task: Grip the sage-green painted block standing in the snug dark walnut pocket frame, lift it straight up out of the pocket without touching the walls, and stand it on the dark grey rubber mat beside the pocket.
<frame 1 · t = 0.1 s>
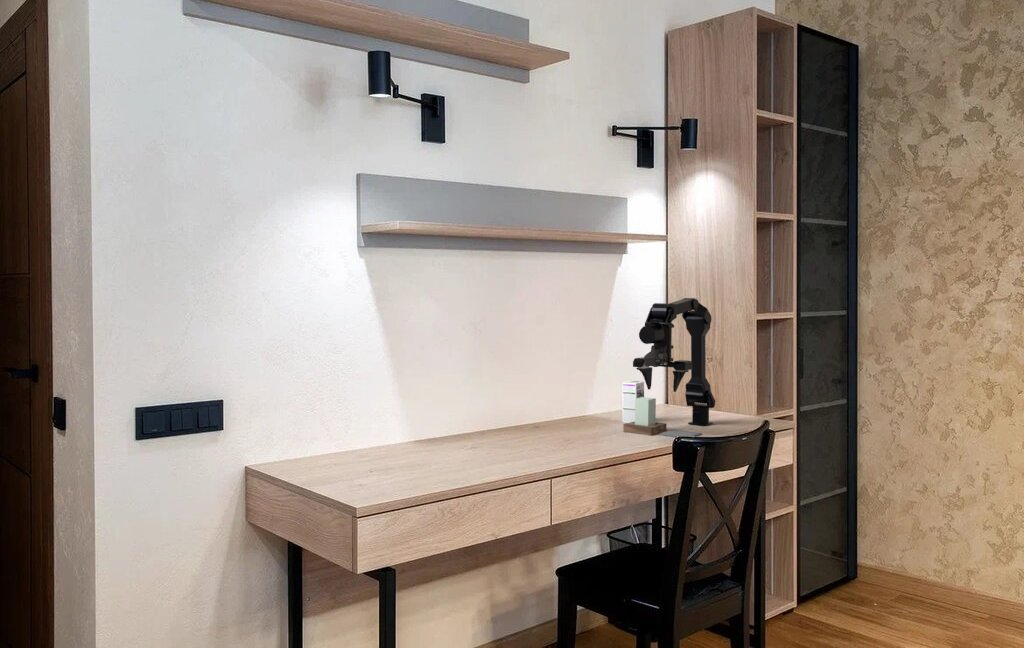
hand: (661, 390, 274), 15 cm above the table, fingers open, 9 cm apart
mat: (680, 434, 276), on the table
sage block: (645, 415, 281), in the pocket block
syrup box: (633, 423, 299), on the table
pocket block: (644, 431, 282), on the table
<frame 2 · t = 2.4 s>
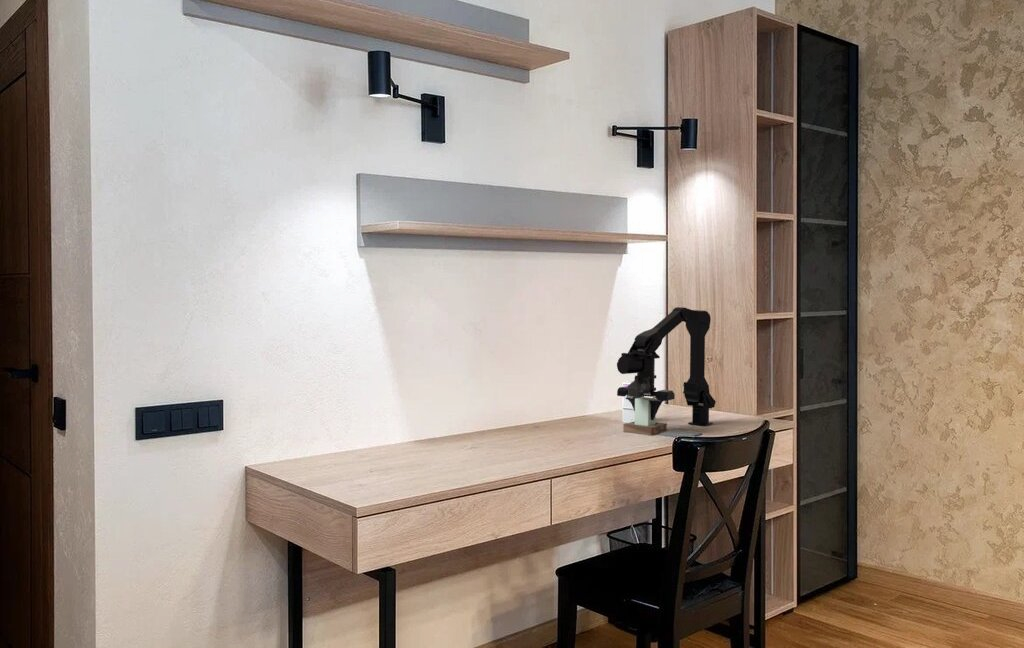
hand: (645, 419, 282), 4 cm above the table, fingers closed on sage block, 5 cm apart
sage block: (645, 414, 281), in the pocket block, touching gripper
everything else where it was.
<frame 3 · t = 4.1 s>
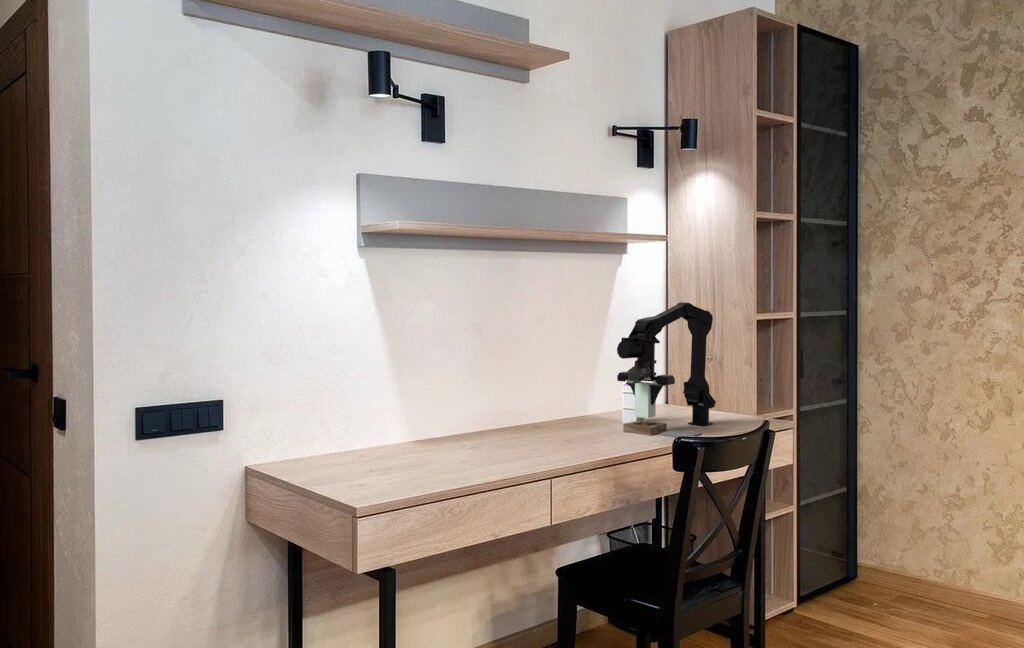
hand: (645, 404, 281), 9 cm above the table, fingers closed on sage block, 5 cm apart
sage block: (645, 399, 281), point 10 cm above the table, touching gripper
everything else where it was.
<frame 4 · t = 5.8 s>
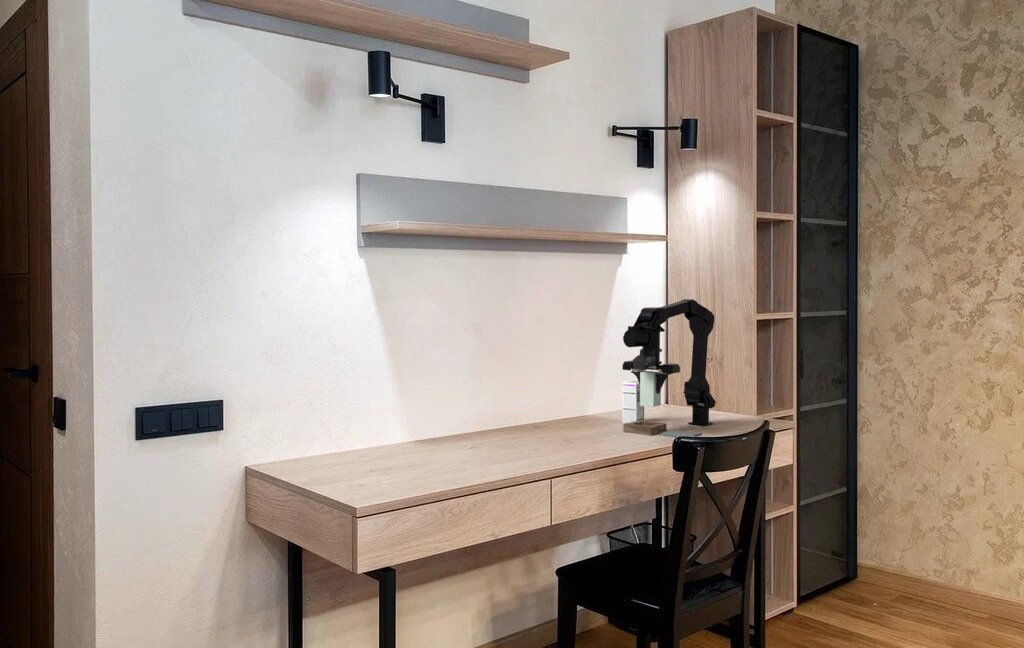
hand: (650, 393, 280), 13 cm above the table, fingers closed on sage block, 5 cm apart
sage block: (650, 388, 280), point 14 cm above the table, touching gripper
everything else where it was.
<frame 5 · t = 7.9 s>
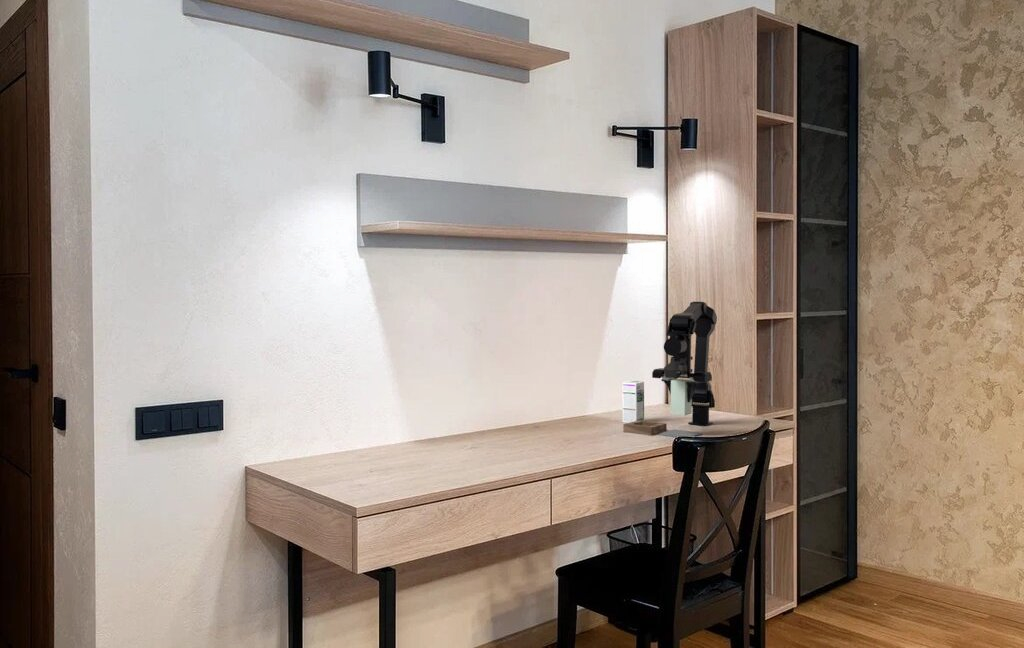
hand: (681, 401, 275), 11 cm above the table, fingers closed on sage block, 5 cm apart
sage block: (681, 397, 275), point 12 cm above the table, touching gripper
everything else where it was.
when the fingers open (5 cm above the table, at t = 9.4 s): sage block stays where it is, resting on mat.
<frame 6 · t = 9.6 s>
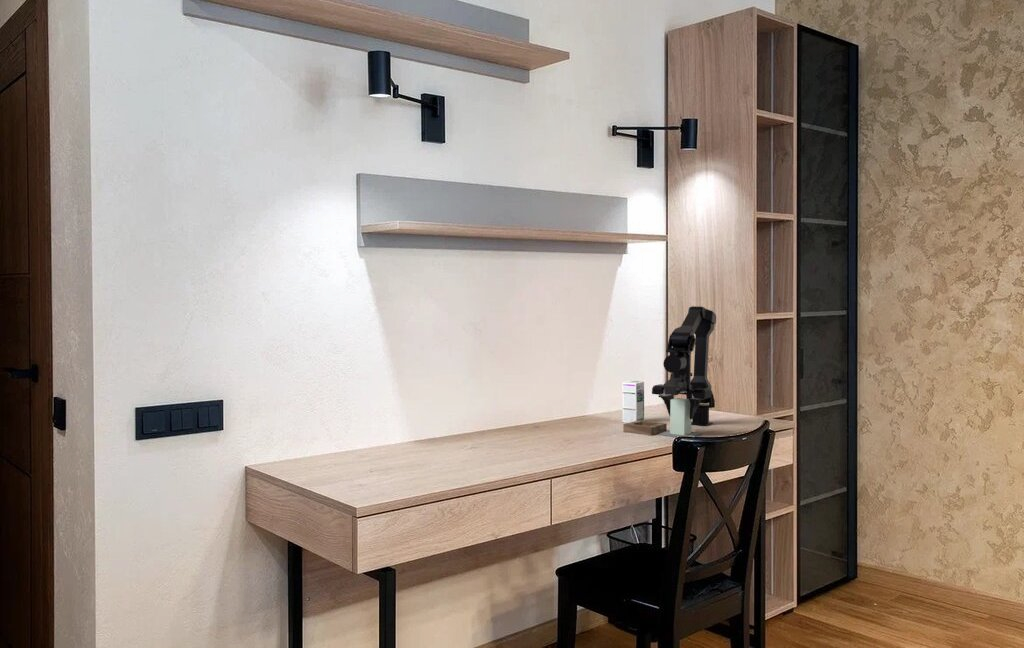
hand: (680, 417, 276), 5 cm above the table, fingers open, 7 cm apart
sage block: (680, 416, 276), on the mat
everything else where it was.
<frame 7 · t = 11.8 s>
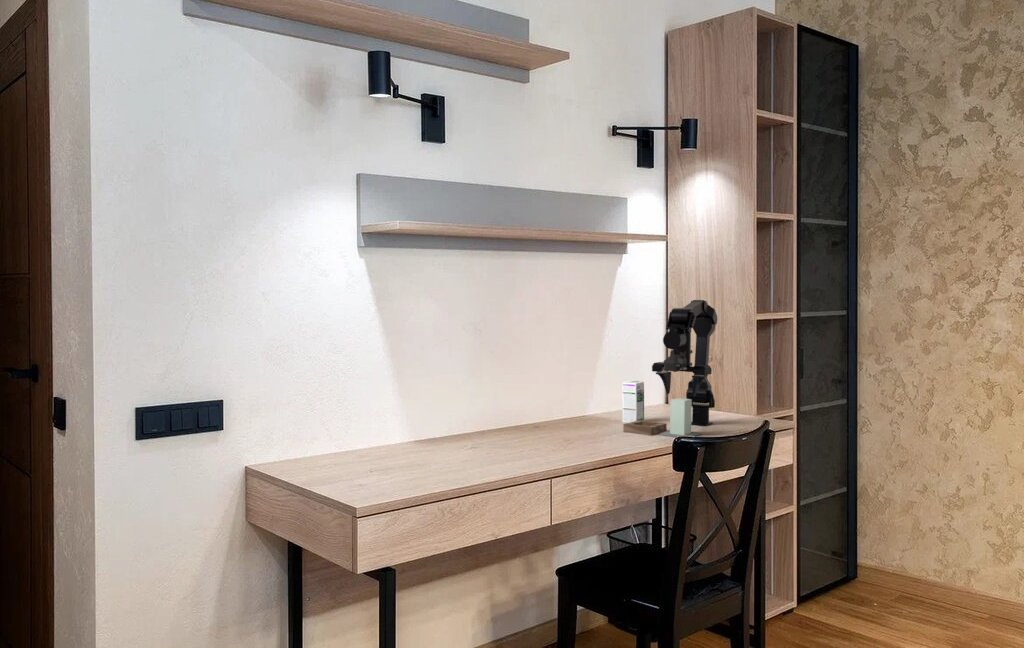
hand: (680, 395, 276), 13 cm above the table, fingers open, 9 cm apart
nothing on the table moved.
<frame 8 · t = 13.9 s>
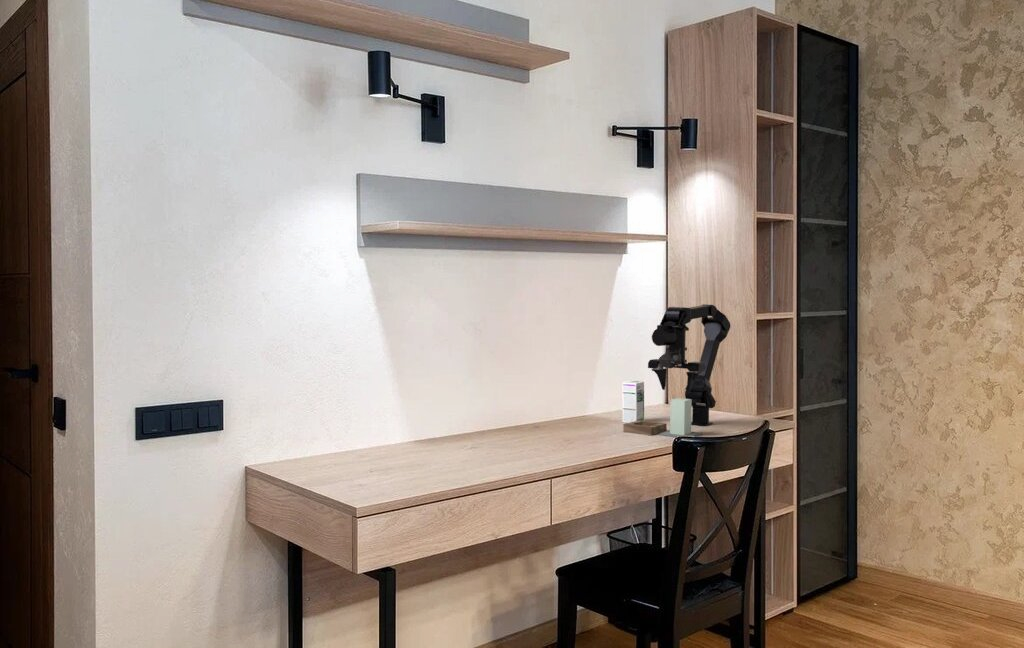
hand: (675, 390, 285), 13 cm above the table, fingers open, 9 cm apart
nothing on the table moved.
at the end: sage block 0.0 cm off-centre on the mat, point 6.0 cm above the mat's base; sage block tilted 0°; sage block touching mat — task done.
